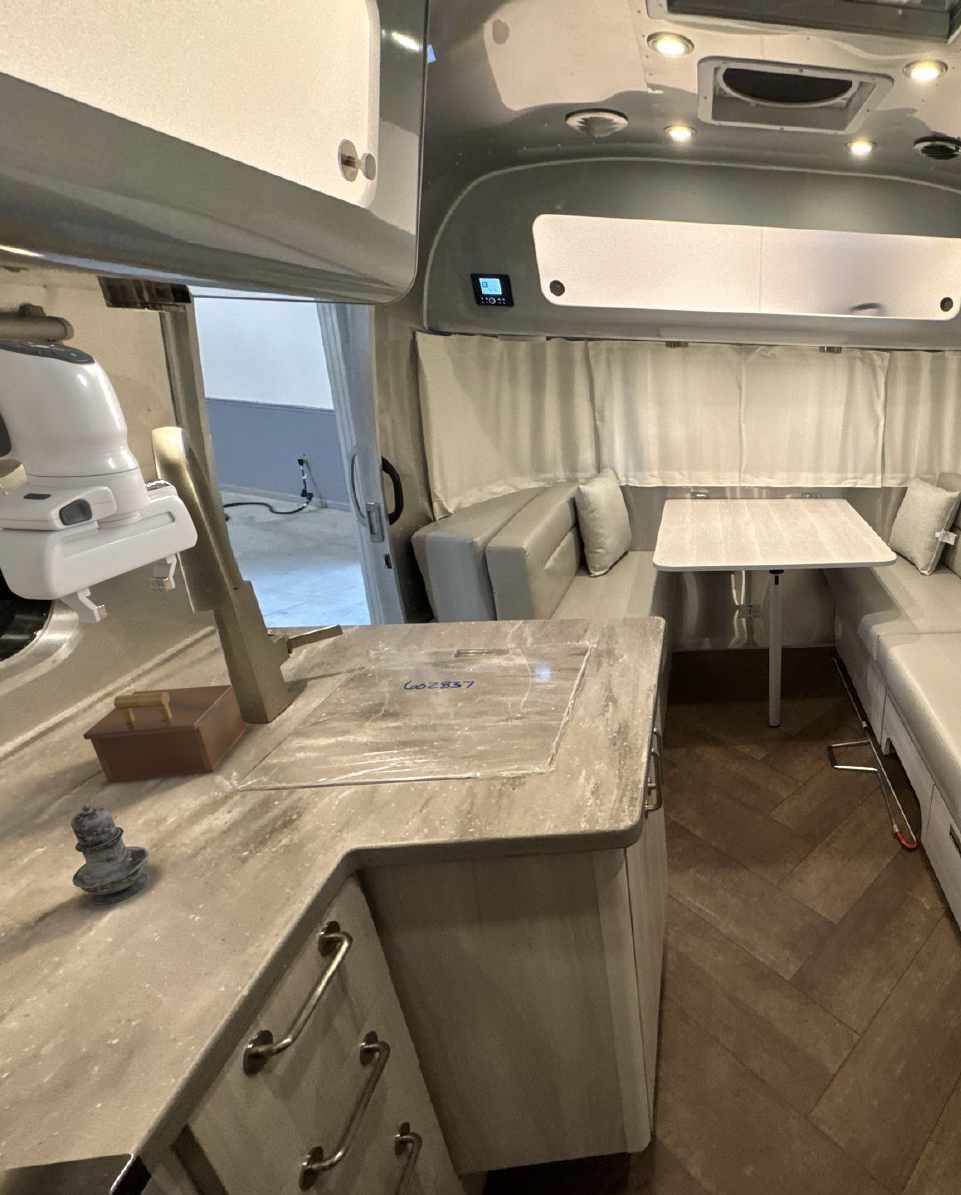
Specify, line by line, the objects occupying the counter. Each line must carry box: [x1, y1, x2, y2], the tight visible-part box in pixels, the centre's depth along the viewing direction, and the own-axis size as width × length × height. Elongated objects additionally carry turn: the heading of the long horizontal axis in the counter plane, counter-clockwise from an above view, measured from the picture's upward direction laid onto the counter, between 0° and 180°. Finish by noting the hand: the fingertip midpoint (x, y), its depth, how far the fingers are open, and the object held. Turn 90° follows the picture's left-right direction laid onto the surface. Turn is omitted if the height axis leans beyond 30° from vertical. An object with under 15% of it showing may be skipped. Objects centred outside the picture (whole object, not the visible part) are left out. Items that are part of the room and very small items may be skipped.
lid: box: [82, 684, 234, 741], centre depth 88 cm, size 11×12×5 cm
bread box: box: [90, 689, 247, 784], centre depth 91 cm, size 10×12×8 cm
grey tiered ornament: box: [70, 804, 151, 906], centre depth 69 cm, size 6×6×12 cm
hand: (131, 604), depth 78 cm, fingers open, 8 cm apart
